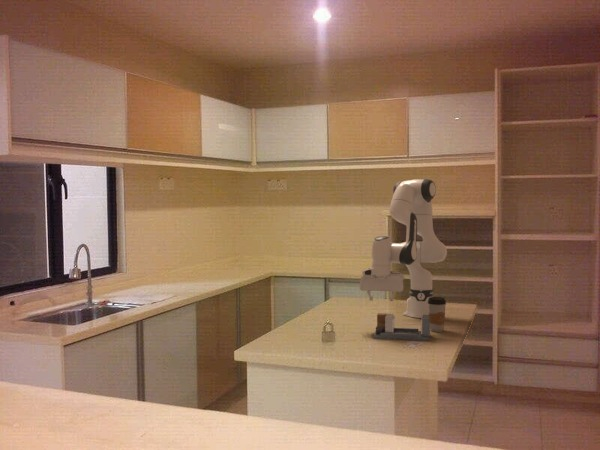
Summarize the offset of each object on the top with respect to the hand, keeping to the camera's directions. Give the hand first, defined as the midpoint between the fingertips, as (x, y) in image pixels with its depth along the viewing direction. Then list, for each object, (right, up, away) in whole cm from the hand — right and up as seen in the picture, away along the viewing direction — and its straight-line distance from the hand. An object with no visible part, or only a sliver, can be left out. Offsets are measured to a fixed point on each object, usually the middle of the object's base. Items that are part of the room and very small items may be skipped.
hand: (381, 300), depth 271 cm
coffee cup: (+26, -14, -1) cm, 29 cm away
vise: (+7, -14, -13) cm, 20 cm away
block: (0, -14, +1) cm, 14 cm away
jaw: (0, -12, -11) cm, 17 cm away
